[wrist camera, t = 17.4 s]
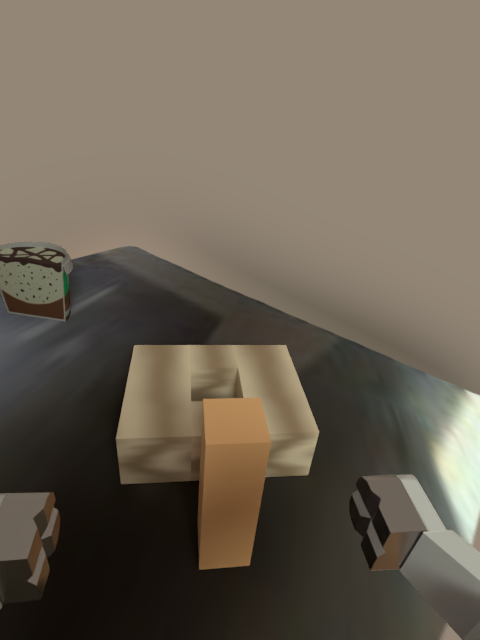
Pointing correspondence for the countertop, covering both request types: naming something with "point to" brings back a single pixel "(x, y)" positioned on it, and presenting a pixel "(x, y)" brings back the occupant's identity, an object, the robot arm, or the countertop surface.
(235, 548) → the plug
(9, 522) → the robot arm
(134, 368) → the socket
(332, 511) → the countertop surface
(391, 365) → the countertop surface
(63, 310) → the food container
